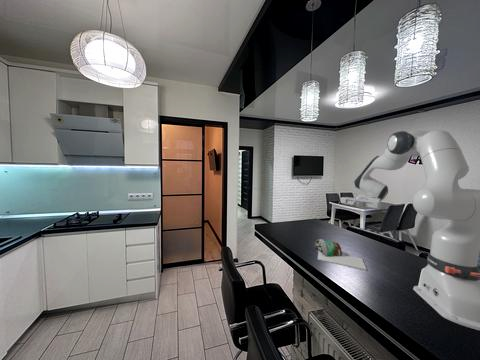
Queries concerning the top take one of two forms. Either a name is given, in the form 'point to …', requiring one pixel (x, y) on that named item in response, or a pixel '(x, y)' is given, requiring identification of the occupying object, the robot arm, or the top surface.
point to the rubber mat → (343, 260)
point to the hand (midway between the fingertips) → (355, 203)
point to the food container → (328, 247)
